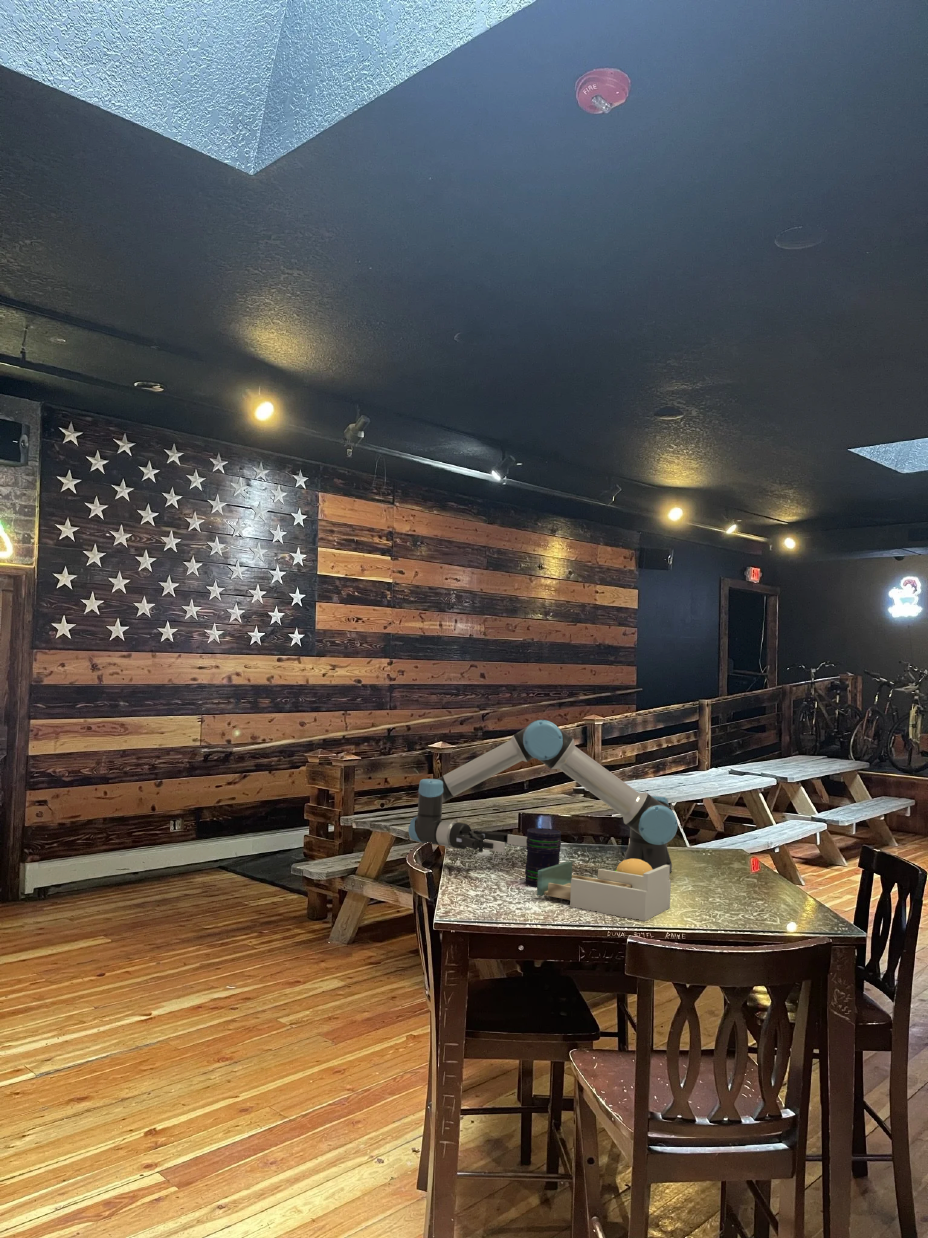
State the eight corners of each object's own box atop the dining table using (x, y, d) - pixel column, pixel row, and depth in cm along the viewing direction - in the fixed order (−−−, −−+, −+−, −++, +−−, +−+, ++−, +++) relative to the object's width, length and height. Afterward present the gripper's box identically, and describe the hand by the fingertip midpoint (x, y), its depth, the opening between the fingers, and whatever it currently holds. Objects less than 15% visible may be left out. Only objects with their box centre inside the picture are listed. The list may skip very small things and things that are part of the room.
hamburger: (620, 895, 238) (622, 863, 239) (606, 885, 250) (608, 855, 251) (662, 896, 240) (663, 864, 241) (646, 886, 252) (647, 855, 253)
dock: (570, 906, 222) (571, 862, 223) (598, 895, 237) (600, 853, 238) (644, 921, 211) (646, 875, 212) (670, 908, 226) (671, 864, 227)
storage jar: (563, 888, 243) (565, 834, 244) (529, 888, 241) (531, 833, 242) (554, 880, 252) (556, 828, 254) (520, 880, 251) (523, 827, 252)
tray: (536, 895, 227) (538, 870, 228) (567, 884, 242) (568, 861, 243) (607, 908, 217) (608, 882, 217) (634, 896, 232) (635, 872, 232)
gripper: (476, 842, 274) (535, 852, 262) (430, 852, 253) (493, 863, 242) (477, 818, 275) (536, 827, 263) (432, 826, 254) (494, 836, 242)
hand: (516, 844), depth 252 cm, fingers open, 13 cm apart
